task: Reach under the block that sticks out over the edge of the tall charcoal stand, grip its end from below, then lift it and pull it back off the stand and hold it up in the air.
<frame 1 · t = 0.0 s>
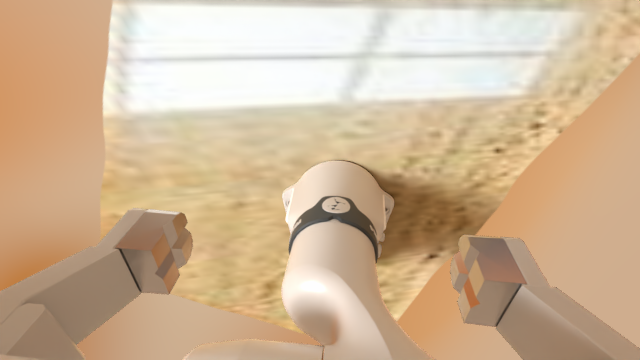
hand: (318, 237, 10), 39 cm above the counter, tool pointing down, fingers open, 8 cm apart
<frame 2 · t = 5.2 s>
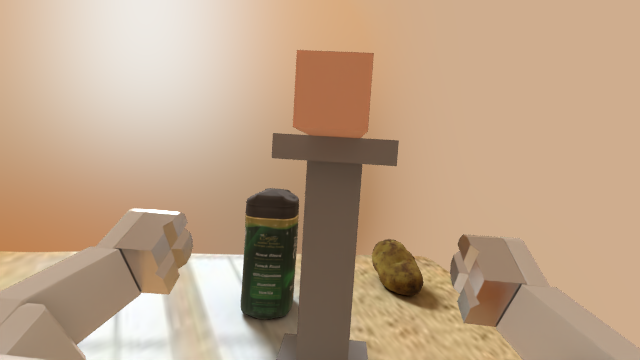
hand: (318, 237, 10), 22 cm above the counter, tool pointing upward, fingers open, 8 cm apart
potato: (393, 286, 62), on the counter
coffee jar: (268, 307, 51), on the counter
block: (335, 138, 28), point 26 cm above the counter, touching stand
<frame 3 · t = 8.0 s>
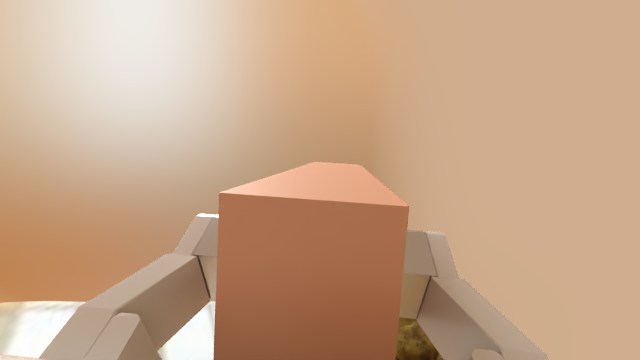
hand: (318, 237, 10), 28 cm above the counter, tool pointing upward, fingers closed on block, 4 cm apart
potato: (402, 349, 52), on the counter
block: (327, 241, 18), point 26 cm above the counter, touching gripper, stand
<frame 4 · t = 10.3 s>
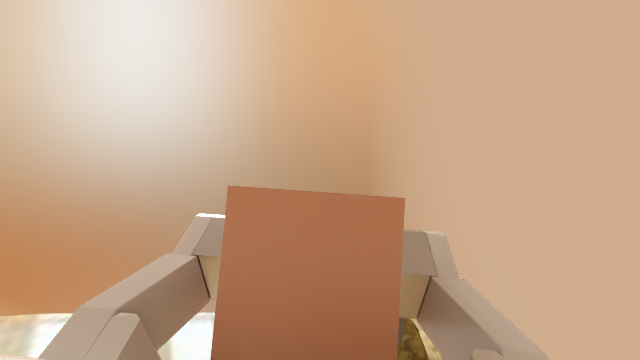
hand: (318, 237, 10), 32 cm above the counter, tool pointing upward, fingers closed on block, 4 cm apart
block: (324, 276, 18), point 28 cm above the counter, tilted 11°, touching gripper
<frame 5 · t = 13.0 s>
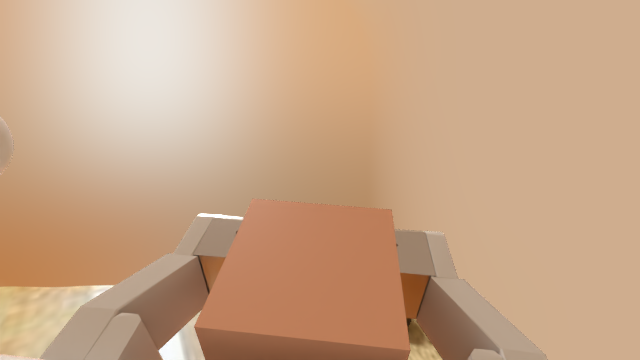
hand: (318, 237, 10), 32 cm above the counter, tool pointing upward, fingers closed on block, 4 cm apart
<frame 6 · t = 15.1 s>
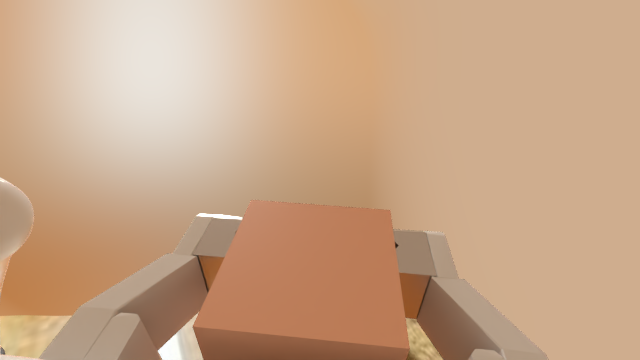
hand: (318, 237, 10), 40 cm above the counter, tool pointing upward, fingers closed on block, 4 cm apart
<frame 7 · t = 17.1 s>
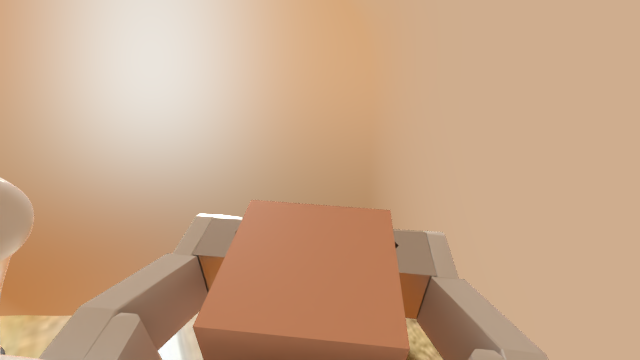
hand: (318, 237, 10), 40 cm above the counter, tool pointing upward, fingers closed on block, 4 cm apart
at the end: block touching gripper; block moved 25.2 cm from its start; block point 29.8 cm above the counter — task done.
